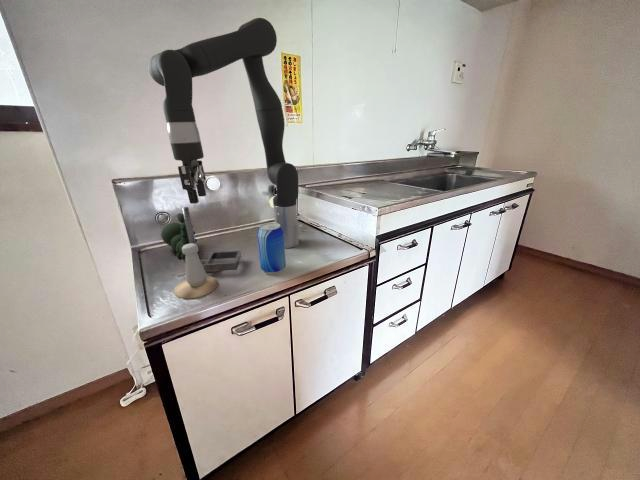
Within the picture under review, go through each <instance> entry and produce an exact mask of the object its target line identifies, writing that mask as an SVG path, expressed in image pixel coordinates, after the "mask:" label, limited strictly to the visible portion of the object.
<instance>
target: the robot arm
mask: <svg viewBox="0 0 640 480" xmlns="http://www.w3.org/2000/svg"><path fill="white" fill-rule="evenodd" d="M277 39H278V37H277V32H276V30H275V28H274V26H273V24H272V23H271V22H270V21H269V20H268V19H266V18H264V17H263V18H262V17H256V18H254V19H253V18H252V19H251V20H249V21H248V22H244V23H243V24H241V25H240V26H239V27H238V29H237V30H235V31H232V32H229V33H225V34H221V35H217V36H213V37H209V38H205V39H201V40H199V41H196V42H195V41H194V42H191V43H189V44H187V45H185V46H183V47H181V48H178V49H175V50H174V49H165V50H163V51H161V52H158V53H156V54H154V55H152V57H150V59H149V61H148V64H147V66H148V68H147V69H148V73H149V75H150V77H151V78H152V80H153V81H154V82H156V83H157V84H158V85H160V86H162V87H164V92H165V95H164V98H163V99H162V101H161V102H162V103H161V105H162V109H163V114H164V118H165V122H166V129H167V135H168V139H169V144H170V147H171V151H172V154H173V159H174V160H175V161H181V163H182V164H181V165H180V166H177V169H178V173H179V174H178V175H179V178H180V182H181V188H182V190H185V191H186V193H187V196H188V200H189V204H191V205H193V204H194V205H195V204H198V203H199V202H200V201H199V197H200V198H201V197H206V196H207V191H206V186H205V182H206V179H207V177H206V174H205V170H204V166H203V161H202V159H204V157H205V155H204V151H203V150H204V149H203V146H202V139H201V136H200V132H199V128H198V126H197V122H196V117H195V111H194V107H193V78H196V77H202V76H206V75H208V74H211V73H213V72H215V71H218V70H220V69H223V68H225V67H227V66H229V65H231V64H233V63H235V62H237V61H238V62H239V60H242V63H243V66H244V68H245V72H246V76H247V80H248V85H249V87H250V92H251V96H252V101H253V104H254V110H255V115H256V120H257V123H258V128H259V130H260V137H261V140H262V145H263V149H264V150H263V151H264V154H265V155H264V156H265V162H266V172H267V178H268V179H269V181H270V183H272V184H273V185H274V186H276V195H275V196H274V197H273V198H272V202H273V203H272V205H273V215H274V217H273V218H274V223H278V224H280V227H281V228H282V230H283V232H284V246H285V249H288V248H289V249H290V248H294V247H299V225H298V223H299V222H298V207H297V205H298V204H297V201H298V198H299V173H298V169H297V168H296V166H295V165H294V164H291V163H288V162H287V161H286V159H285V154H284V149H283V141H284V135H285V117H284V110H283V106H282V102H281V99H280V97H279V96H278V94H277V92H276V90H275V89H274V87H273V86H272V85H271V83H270V82H269V79H268V77H267V73H266V71H265V66H264V61H263V58H264V57H266V56H269V55H271V54H272V53H273V52H274V50H275V49H276V47H277V42H278V40H277Z"/></svg>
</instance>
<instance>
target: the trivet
mask: <svg viewBox="0 0 640 480" xmlns="http://www.w3.org/2000/svg"><path fill="white" fill-rule="evenodd" d="M218 283H219V282H218V280H217V278H216V277H213V276H210V275H207V277H206V280H205V283H204V284H203V285H202V286H198V287H192V286H190V285H189V284H188V282H187V281H186V279H185V280H182V281H181V282H180V283H177V285H176V286H175V288H174V290H173V292H174V295H175V297H177V298H179V299H181V298H184V299H183V300H191V299H190V298H194V299H198V298H197V297H199V298H201V297H200V296H202V297H204V296H203V295H205V296H207V295H209V294H211V293H212V292H214V291H215V290H216V289H217V287H218ZM214 289H215V290H214ZM211 291H212V292H211ZM210 292H211V293H210ZM208 293H209V294H208ZM206 294H207V295H206Z"/></svg>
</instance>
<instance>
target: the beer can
mask: <svg viewBox="0 0 640 480" xmlns="http://www.w3.org/2000/svg"><path fill="white" fill-rule="evenodd" d="M256 235H257V243H258V244H257V245H258V253H259V261H260V262H259V263H260V269H261V271H263V273H264V274H266V275H269V276H274V275H279V274H281V273H283V272H284V270H285V268H286V265H287V264H286V263H287V262H286V261H287V260H286V248H285V246H284V232H283V230H282V228H281V227H280V224H278V223H275V222H266V223H262V224H260V225H259V229H258V231H257V234H256Z"/></svg>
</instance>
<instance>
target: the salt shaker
mask: <svg viewBox="0 0 640 480" xmlns="http://www.w3.org/2000/svg"><path fill="white" fill-rule="evenodd" d="M198 246H199V245H197V243H196V244H194V243H191V244H186V245H184V246H183V247H182V252H183V254H185V256H186V259H185V280H186V281H187V282H188V284H189V285H190V286H192V287H198V286H202V285H203V284H204V283H205V280H206V277H207V276H208V275H207V272H205V270H204V268H203V265H202V263H201V261H200V260H201V259H200V257H199V247H198ZM197 252H198V254H197Z"/></svg>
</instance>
